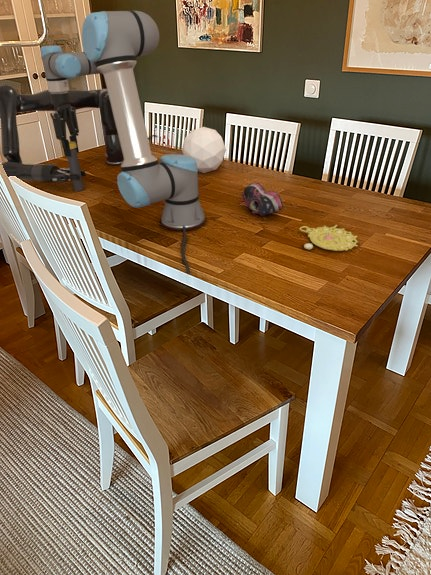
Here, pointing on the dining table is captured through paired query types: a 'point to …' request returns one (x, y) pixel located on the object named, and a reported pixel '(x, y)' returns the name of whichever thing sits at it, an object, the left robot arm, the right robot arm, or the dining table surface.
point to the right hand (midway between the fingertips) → (71, 154)
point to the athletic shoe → (261, 200)
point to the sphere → (204, 148)
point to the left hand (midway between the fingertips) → (82, 175)
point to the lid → (72, 145)
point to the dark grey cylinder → (75, 170)
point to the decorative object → (330, 238)
